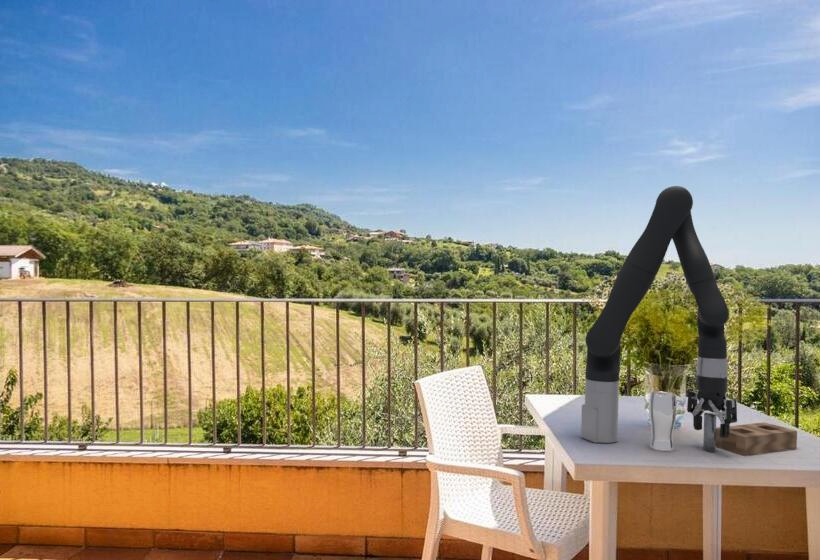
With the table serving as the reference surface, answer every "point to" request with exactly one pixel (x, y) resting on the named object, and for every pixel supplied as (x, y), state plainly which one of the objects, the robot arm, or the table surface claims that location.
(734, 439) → the hole block
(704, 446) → the peg
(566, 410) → the table surface
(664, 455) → the table surface
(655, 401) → the beer glass
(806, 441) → the table surface
